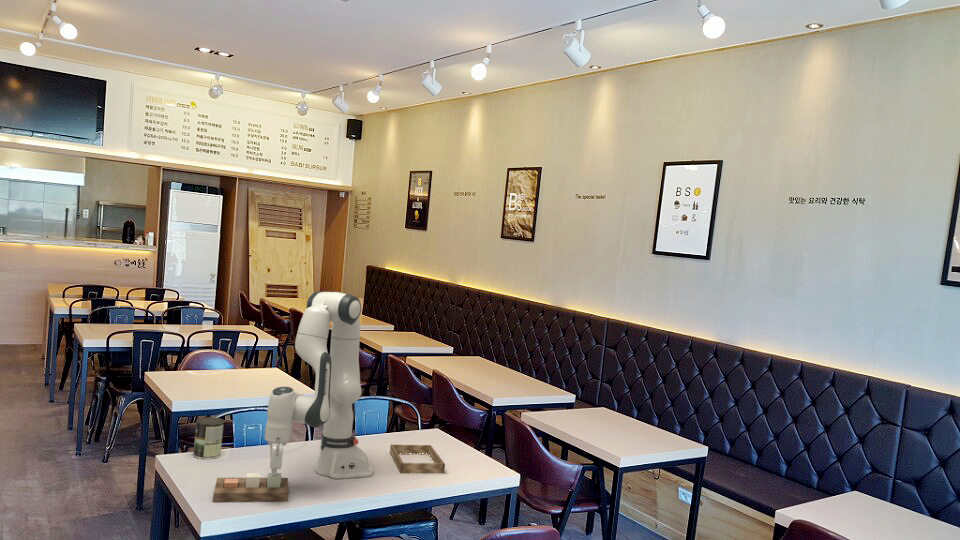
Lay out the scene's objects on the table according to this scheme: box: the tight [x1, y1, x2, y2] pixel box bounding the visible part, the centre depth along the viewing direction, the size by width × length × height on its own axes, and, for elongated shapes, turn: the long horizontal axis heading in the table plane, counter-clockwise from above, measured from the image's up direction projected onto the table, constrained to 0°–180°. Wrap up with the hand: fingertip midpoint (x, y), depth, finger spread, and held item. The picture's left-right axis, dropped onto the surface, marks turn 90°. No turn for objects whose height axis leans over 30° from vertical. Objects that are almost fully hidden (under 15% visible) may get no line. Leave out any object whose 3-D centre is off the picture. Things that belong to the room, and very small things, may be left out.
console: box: [212, 477, 290, 503], centre depth 236 cm, size 24×15×3 cm, turn 107°
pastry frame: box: [389, 444, 446, 475], centre depth 287 cm, size 18×26×4 cm
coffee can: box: [192, 416, 225, 460], centre depth 270 cm, size 10×10×14 cm
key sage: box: [266, 472, 282, 488], centre depth 238 cm, size 4×4×4 cm
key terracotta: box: [224, 479, 238, 488], centre depth 233 cm, size 4×4×4 cm
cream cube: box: [245, 472, 261, 488], centre depth 236 cm, size 4×4×4 cm
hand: (273, 473), depth 237 cm, fingers closed
